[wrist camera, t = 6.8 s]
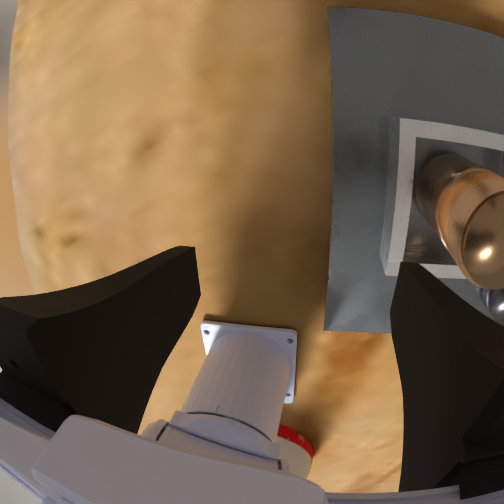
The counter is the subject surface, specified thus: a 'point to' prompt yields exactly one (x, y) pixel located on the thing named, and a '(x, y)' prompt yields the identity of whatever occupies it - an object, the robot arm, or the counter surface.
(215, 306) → the counter surface
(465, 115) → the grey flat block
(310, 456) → the white and red dome
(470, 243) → the shiny metal cylinder
